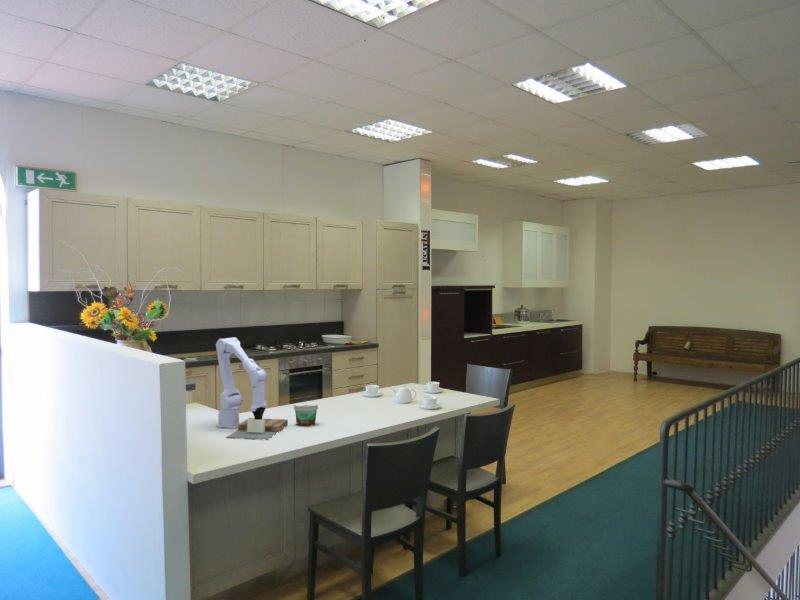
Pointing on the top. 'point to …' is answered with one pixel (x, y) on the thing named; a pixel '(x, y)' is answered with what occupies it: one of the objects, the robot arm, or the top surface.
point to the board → (267, 425)
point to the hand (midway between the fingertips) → (258, 423)
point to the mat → (251, 435)
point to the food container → (305, 415)
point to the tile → (256, 425)
